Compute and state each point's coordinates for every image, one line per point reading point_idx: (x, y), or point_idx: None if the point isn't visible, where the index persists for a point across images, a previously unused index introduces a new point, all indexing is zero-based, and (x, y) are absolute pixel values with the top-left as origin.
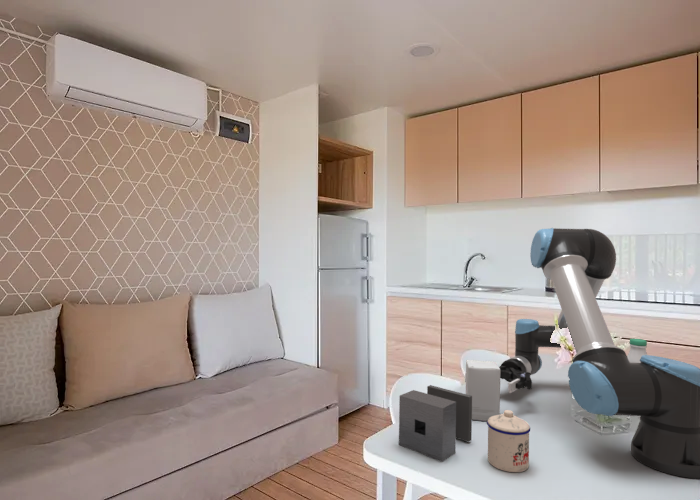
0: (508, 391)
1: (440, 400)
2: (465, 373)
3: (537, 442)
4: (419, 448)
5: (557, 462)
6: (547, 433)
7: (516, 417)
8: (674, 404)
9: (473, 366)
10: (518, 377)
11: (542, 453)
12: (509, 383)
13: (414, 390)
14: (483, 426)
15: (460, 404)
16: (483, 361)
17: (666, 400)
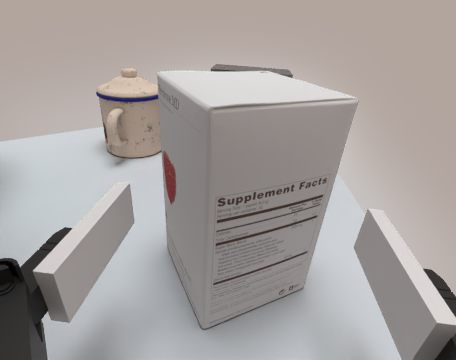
0: (133, 218)
1: (232, 68)
2: (383, 211)
3: (72, 200)
4: None
5: (54, 165)
6: (22, 247)
7: (116, 77)
8: None
9: (260, 72)
10: (25, 328)
11: (74, 175)
12: (124, 182)
13: (290, 74)
14: None
15: None
16: (273, 96)
17: None
